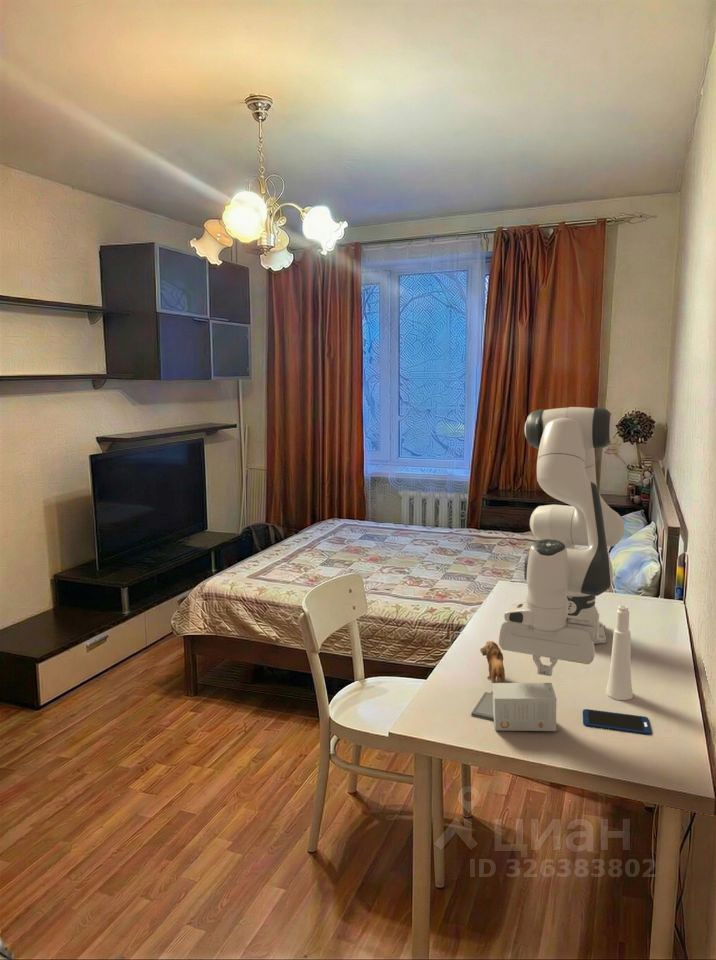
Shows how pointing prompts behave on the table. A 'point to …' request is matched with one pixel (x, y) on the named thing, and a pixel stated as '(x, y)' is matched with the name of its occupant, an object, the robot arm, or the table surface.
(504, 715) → the small box
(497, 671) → the lion figurine
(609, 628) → the table surface
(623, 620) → the cosmetic bottle
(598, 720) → the cell phone
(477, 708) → the grey tablet
